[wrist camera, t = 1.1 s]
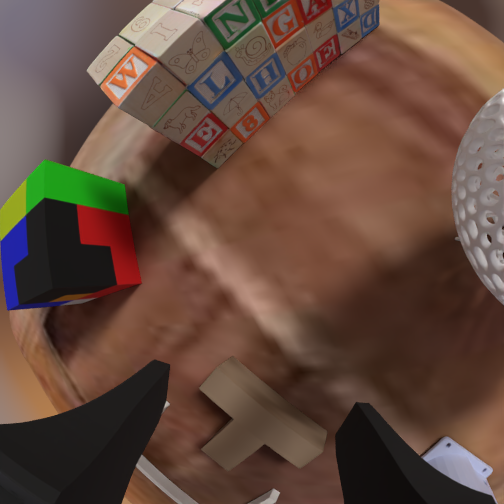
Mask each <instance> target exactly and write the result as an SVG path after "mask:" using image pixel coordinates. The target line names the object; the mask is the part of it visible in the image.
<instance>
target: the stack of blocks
mask: <svg viewBox="0 0 504 504" xmlns="http://www.w3.org/2000/svg"><path fill="white" fill-rule="evenodd" d="M378 3H379V0H154V1H153V2H152V3H151V4H149V5H148V6H147V7H146V8H145V9H144V10H142V11H141V12H140V13H139V14H138V15H137V16H136V17H135V18H134V19H133V20H132V21H131V22H130V23H129V24H128V25H127V26H126V27H125V28H124V29H123V30H122V31H121V32H120V34H119V36H116V37H115V38H114V39H113V40H112V41H111V42H110V43H109V44H108V46H106V48H105V49H104V50H103V51H102V52H101V53H100V54H99V56H98V57H97V58H96V59H95V60H94V62H93V63H92V64H91V65H90V66H89V68H88V69H87V72H88V73H89V74H90V76H91V77H92V78H93V79H94V81H95V82H96V83H97V85H99V86H100V87H101V89H102V90H103V91H104V93H105V94H106V95H107V96H108V97H109V99H110V100H111V101H112V102H113V103H114V104H115V105H116V106H117V107H118V108H119V109H121V110H123V111H124V112H126V113H128V114H130V115H131V116H133V117H135V118H137V119H138V120H140V121H142V122H144V123H145V124H147V125H148V126H149V127H150V128H152V129H153V130H155V131H156V132H159V133H161V134H162V135H163V136H166V137H167V138H169V139H170V140H172V141H174V142H175V143H178V144H179V145H181V146H183V147H184V148H186V149H188V150H189V151H191V152H193V153H194V154H196V155H198V156H200V157H201V158H202V159H204V160H205V161H207V162H208V163H210V164H211V165H213V166H214V167H216V168H219V167H220V166H221V165H222V164H223V163H224V162H225V161H226V160H227V159H228V158H229V157H230V156H231V155H232V154H233V153H234V152H235V151H236V150H237V149H238V148H239V147H240V146H241V145H242V144H243V143H245V142H246V141H247V140H248V139H249V138H250V137H251V136H252V135H253V134H254V133H255V132H256V131H257V130H258V129H259V128H260V127H261V126H262V125H264V124H265V123H266V122H267V121H268V120H269V119H270V118H271V117H272V116H273V115H274V114H275V113H277V112H278V111H279V110H280V109H281V108H282V107H283V106H284V105H285V104H286V103H287V102H288V101H289V100H291V99H292V98H293V97H294V96H295V93H296V92H298V91H299V90H300V89H301V88H302V87H303V86H304V85H305V84H307V83H308V82H309V81H310V80H311V79H312V78H313V77H315V76H316V75H317V74H318V72H320V71H321V70H322V69H323V68H324V67H326V66H327V65H328V64H329V63H330V62H331V61H333V60H334V59H335V58H337V57H338V56H339V54H343V53H344V52H345V51H347V50H348V49H349V48H350V47H352V46H353V45H354V44H355V43H357V42H358V41H359V40H360V39H361V38H363V37H364V36H366V35H367V34H368V33H370V32H371V31H372V30H374V29H375V28H376V27H377V26H379V4H378Z"/></svg>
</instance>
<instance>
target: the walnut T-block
mask: <svg viewBox="0 0 504 504" xmlns="http://www.w3.org/2000/svg"><path fill="white" fill-rule="evenodd" d="M199 389H200V390H201V391H202V392H203V393H205V394H206V395H207V396H208V397H209V398H210V399H211V400H212V401H213V402H215V403H216V404H217V405H218V406H219V407H220V408H221V409H223V410H224V411H225V412H226V413H227V414H228V415H230V416H231V417H232V419H231V420H230V421H229V422H228V423H227V424H226V425H225V426H224V427H222V428H221V429H220V430H219V431H218V432H217V433H216V434H215V435H214V436H213V437H212V438H211V439H210V440H209V441H208V442H207V444H206V445H205V446H204V447H203V448H202V449H201V450H202V451H203V452H204V453H206V454H207V455H208V456H209V457H210V458H212V459H213V460H214V461H215V462H217V463H218V464H219V465H220V466H222V467H223V468H224V469H226V470H227V471H230V470H231V469H232V468H234V467H235V466H237V465H238V464H239V463H241V462H242V461H243V460H245V459H246V458H247V457H249V456H250V455H251V454H253V453H254V452H255V451H256V450H258V449H259V448H260V447H261V446H263V445H264V444H266V445H267V446H269V447H270V448H271V449H273V450H274V451H275V452H277V453H278V454H280V455H281V456H282V457H284V458H285V459H287V460H288V461H289V462H291V463H292V464H294V465H295V466H297V467H298V468H302V467H303V466H304V465H306V464H307V463H309V462H310V461H311V460H313V459H314V458H315V457H317V456H318V455H319V454H321V453H322V452H323V450H324V445H325V441H326V436H327V431H326V430H325V429H324V428H322V427H321V426H319V425H318V424H317V423H315V422H314V421H313V420H311V419H310V418H309V417H307V416H306V415H305V414H303V413H302V412H301V411H299V410H298V409H297V408H295V407H294V406H293V405H292V404H290V403H289V402H288V401H286V400H285V399H284V398H283V397H281V396H280V395H279V394H278V393H276V392H275V391H274V390H273V389H271V388H270V387H269V386H268V385H267V384H265V383H264V382H263V381H262V380H260V379H259V378H258V377H257V376H256V375H255V374H253V373H252V372H251V371H250V370H249V369H247V368H246V367H245V366H244V365H243V364H242V363H240V362H239V361H238V360H237V359H236V358H235V357H234V356H232V357H231V358H229V359H228V360H226V361H225V362H224V363H222V364H221V365H219V366H218V367H216V369H215V370H214V371H213V372H212V373H211V375H210V376H209V377H208V378H207V379H206V381H205V382H204V383H203V384H202V385H201V386H200V388H199Z"/></svg>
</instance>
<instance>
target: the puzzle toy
mask: <svg viewBox="0 0 504 504" xmlns="http://www.w3.org/2000/svg"><path fill="white" fill-rule="evenodd" d="M0 241H1V260H2V272H3V281H4V290H5V297H6V304H7V310H19V309H30V308H41V307H51V306H61V305H71V304H80V303H84V302H87V301H90V300H93V299H96V298H99V297H102V296H105V295H108V294H111V293H114V292H117V291H120V290H123V289H126V288H129V287H132V286H135V285H138V284H141V283H142V282H141V277H140V273H139V268H138V263H137V258H136V253H135V248H134V242H133V237H132V231H131V225H130V219H129V213H128V206H127V199H126V191H125V185H124V184H121V183H118V182H115V181H112V180H109V179H106V178H103V177H100V176H97V175H94V174H90V173H87V172H84V171H81V170H78V169H75V168H71V167H68V166H65V165H62V164H59V163H55V162H52V161H49V160H46V159H45V160H44V161H43V162H42V163H41V164H40V165H39V166H38V167H37V168H36V169H35V170H34V171H33V172H32V174H30V175H29V177H28V178H27V179H26V180H25V181H24V182H23V183H22V184H21V185H20V187H19V188H18V189H17V190H16V191H15V193H14V194H13V195H12V196H11V197H10V198H9V200H8V201H7V202H6V203H5V204H4V206H3V207H2V209H0Z"/></svg>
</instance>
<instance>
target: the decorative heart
mask: <svg viewBox="0 0 504 504" xmlns="http://www.w3.org/2000/svg"><path fill="white" fill-rule="evenodd" d="M480 146H481V149H480V151H478V152H477V150H478V149H479V147H480ZM497 149H498V151H497V152H495V151H496V150H497ZM503 157H504V88H503V89H502V90H501V91H500V92H498V93H497V94H496V95H494V96H493V97H492V98H491V99H490V100H489V101H488V102H487V103H486V104H485V105H484V106H483V107H482V108H481V109H480V110H479V112H478V113H477V114H476V116H475V117H474V119H473V120H472V122H471V123H470V125H469V128H468V130H467V131H466V133H465V135H464V137H463V139H462V141H461V144H460V146H459V148H458V152H457V155H456V160H455V164H454V168H453V173H452V209H453V215H454V220H455V225H456V230H457V233H458V236H459V237H455V240H457V241H460V242H461V245H462V247H463V249H464V252H465V254H466V256H467V258H468V260H469V261H470V263H471V265H472V267H473V269H474V270H475V272H476V274H477V275H478V277H479V278H480V280H481V281H482V282H483V284H484V285H485V286H486V287H487V289H488V290H489V291H490V292H491V293H492V294H493V295H494V296H495V297H496V298H497V300H498V301H500V302H501V303H502V304H503V305H504V259H503V256H502V254H503V252H504V230H502V226H504V179H502V180H501V181H496V177H497V176H498V175H499V174H503V176H504V168H503V167H502V166H504V158H503ZM480 163H482V168H481V169H479V170H478V165H479V164H480ZM481 181H482V183H481V186H480V182H481ZM494 190H496V191H497V192H498V194H499V196H497V195H495V194H492V193H493V191H494ZM474 205H475V208H474ZM487 217H492V218H493V220H494V222H495V224H491V223H489V222H488V220H487ZM475 222H476V223H475ZM476 224H477V226H476ZM477 227H478V229H477ZM488 234H489V235H490V236H491V239H492V243H490V242H489V241H488V239H487V235H488ZM499 250H500V251H499ZM484 254H485V255H484Z"/></svg>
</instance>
